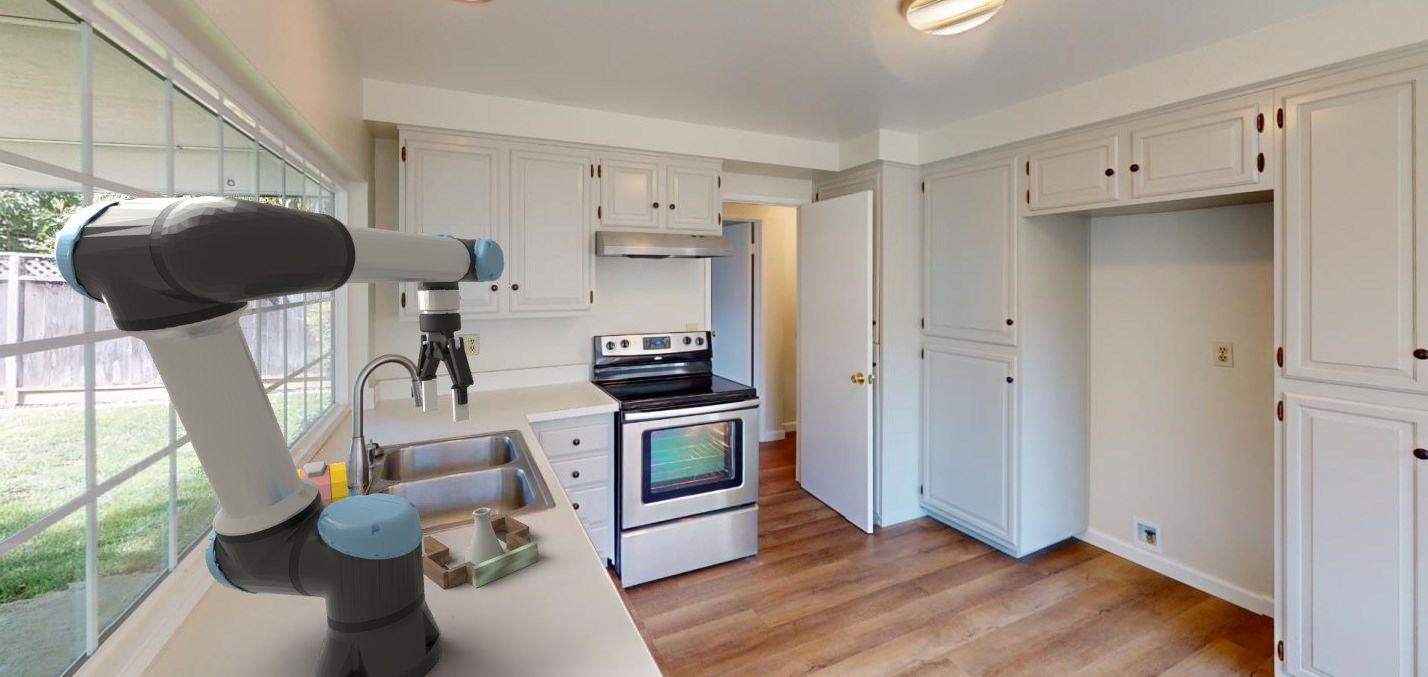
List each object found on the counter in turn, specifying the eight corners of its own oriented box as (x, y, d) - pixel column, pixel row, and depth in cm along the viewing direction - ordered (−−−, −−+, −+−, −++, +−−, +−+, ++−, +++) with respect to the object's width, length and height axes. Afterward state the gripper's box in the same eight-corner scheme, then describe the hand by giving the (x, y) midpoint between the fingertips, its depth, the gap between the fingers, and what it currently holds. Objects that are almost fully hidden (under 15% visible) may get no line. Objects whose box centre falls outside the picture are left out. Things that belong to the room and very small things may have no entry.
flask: (512, 553, 110) (509, 505, 109) (488, 571, 103) (486, 520, 102) (480, 549, 112) (478, 501, 111) (455, 567, 105) (452, 516, 104)
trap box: (454, 597, 95) (453, 578, 94) (404, 559, 108) (403, 542, 108) (555, 553, 110) (554, 536, 110) (499, 524, 124) (499, 509, 123)
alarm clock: (302, 542, 116) (295, 457, 114) (349, 532, 120) (343, 449, 119) (300, 572, 103) (292, 477, 102) (352, 559, 108) (346, 468, 106)
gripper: (489, 312, 107) (494, 421, 109) (431, 309, 123) (437, 404, 125) (449, 314, 101) (455, 428, 103) (395, 311, 117) (401, 410, 119)
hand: (445, 415), depth 114 cm, fingers open, 13 cm apart
